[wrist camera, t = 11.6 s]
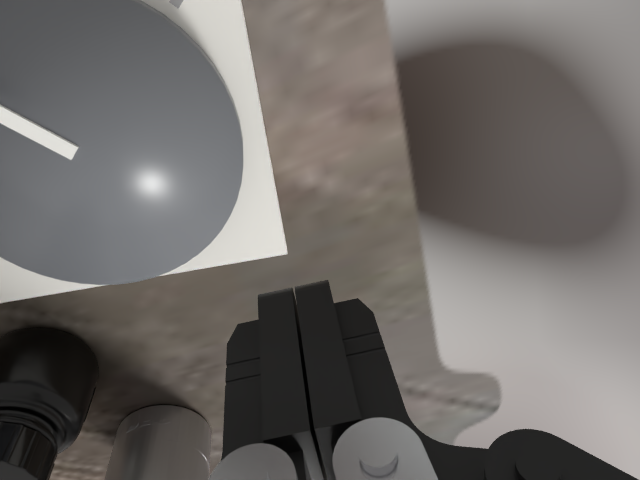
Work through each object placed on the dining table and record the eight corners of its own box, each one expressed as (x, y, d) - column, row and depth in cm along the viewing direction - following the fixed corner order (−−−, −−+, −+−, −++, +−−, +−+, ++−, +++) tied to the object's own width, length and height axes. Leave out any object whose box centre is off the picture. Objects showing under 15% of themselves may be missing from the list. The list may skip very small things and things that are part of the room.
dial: (300, 108, 34) (316, 157, 26) (157, 310, 41) (139, 392, 34) (-19, -111, 26) (-122, -127, 18) (-127, 188, 33) (-232, 261, 26)
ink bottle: (-2, 399, 46) (-72, 532, 36) (-27, 324, 41) (-115, 453, 31) (111, 395, 47) (75, 522, 37) (99, 323, 43) (54, 445, 33)
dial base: (286, 244, 41) (287, 255, 40) (-1, 292, 40) (-10, 306, 39) (228, -72, 29) (227, -72, 28) (-180, -15, 28) (-202, -12, 27)
